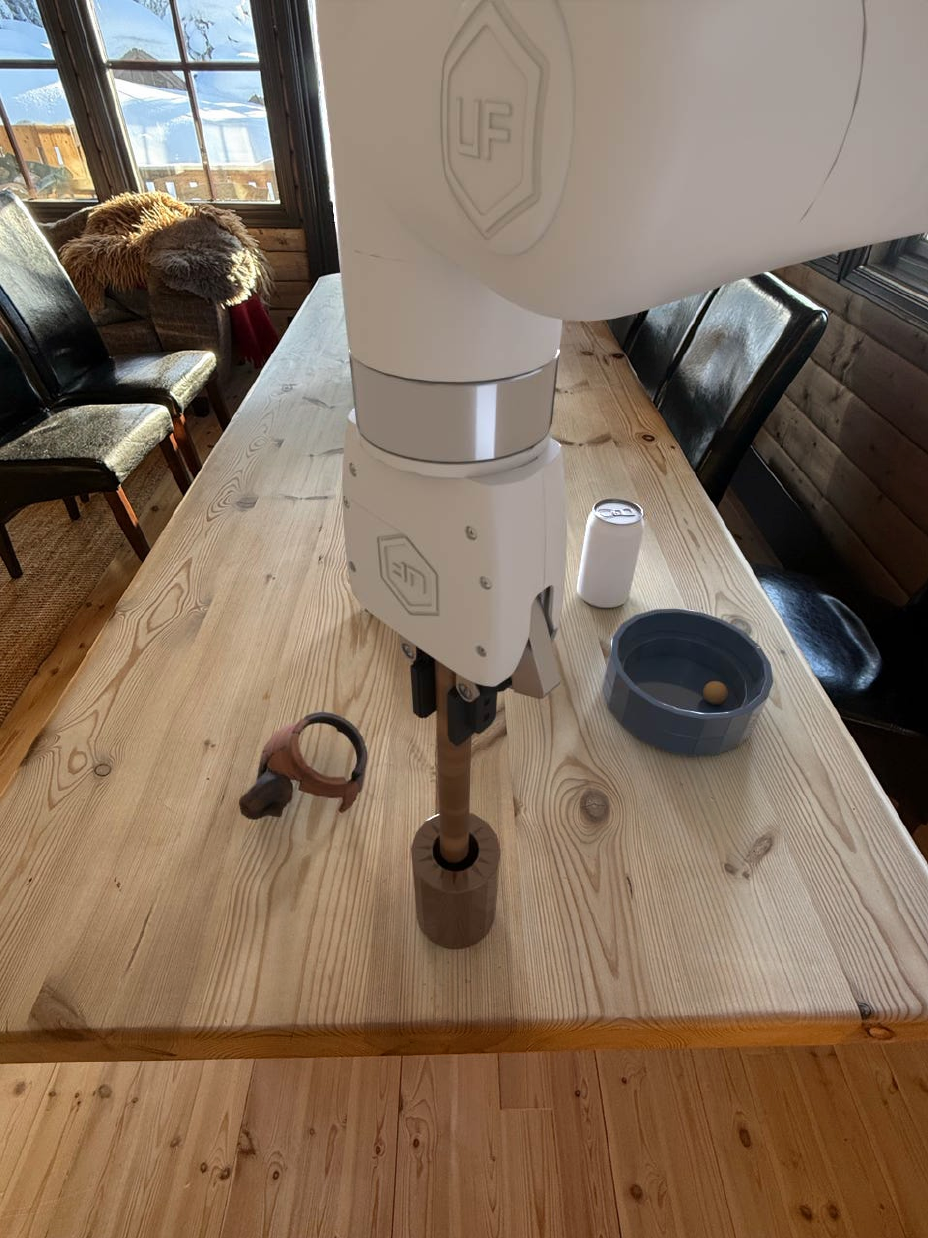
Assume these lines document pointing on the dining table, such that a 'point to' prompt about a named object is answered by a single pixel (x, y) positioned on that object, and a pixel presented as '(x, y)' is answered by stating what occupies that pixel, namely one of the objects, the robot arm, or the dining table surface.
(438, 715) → the stick
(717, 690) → the cork ball
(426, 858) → the holder
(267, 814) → the broken pottery
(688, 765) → the dining table surface
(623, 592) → the can
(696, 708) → the bowl
